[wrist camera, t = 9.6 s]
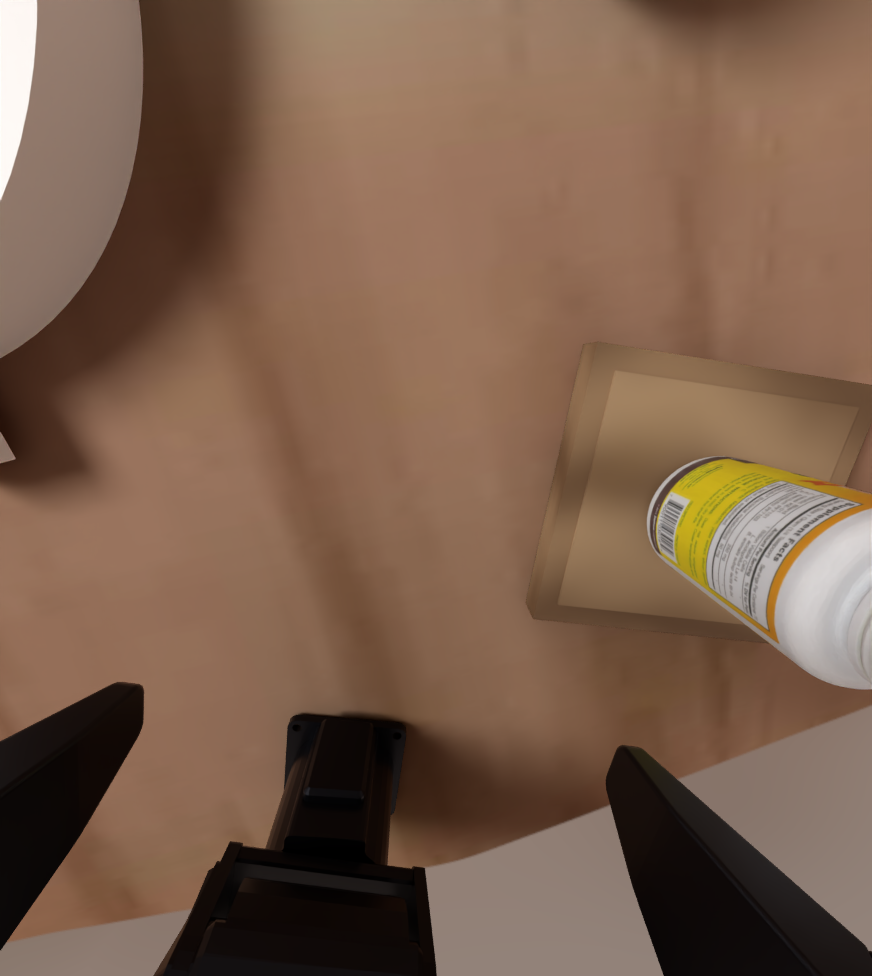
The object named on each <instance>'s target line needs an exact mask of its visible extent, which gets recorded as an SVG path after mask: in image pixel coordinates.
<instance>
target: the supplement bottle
mask: <svg viewBox="0 0 872 976" xmlns="http://www.w3.org/2000/svg"><path fill="white" fill-rule="evenodd" d="M647 532H648V537H649V540H650V543H651V545H652V547H653V549H654V550H655V552H656V553H657V555H658V556H659V557H660V558H661V559H662V560H663V561H664V562H665V563H666V564H668V565H669V566H670V567H671V568H672V569H674V570H675V571H676V572H678V573H679V574H680V575H681V576H683V577H684V578H685V579H687V580H688V581H689V582H691V583H692V584H693V585H694V586H696V587H697V588H698V589H700V590H701V591H702V592H703V593H705V594H706V595H707V596H709V597H710V598H711V599H712V600H714V601H715V602H716V603H718V604H719V605H720V606H722V607H723V608H724V609H726V610H727V611H728V612H730V613H731V614H732V615H733V616H735V617H736V618H737V619H739V620H740V621H741V622H742V623H744V624H745V625H746V626H748V627H749V628H750V629H751V630H753V631H754V632H755V633H757V634H758V635H759V636H761V637H762V638H763V639H764V640H766V641H767V642H768V643H769V644H771V645H772V646H773V647H775V648H776V649H777V650H778V651H780V652H781V653H782V654H784V655H785V656H786V657H787V658H789V659H790V660H791V661H793V662H794V663H795V664H797V665H798V666H799V667H801V668H802V669H804V670H805V671H807V672H808V673H810V674H811V675H813V676H814V677H816V678H818V679H820V680H823V681H825V682H827V683H830V684H833V685H837V686H841V687H846V688H853V689H872V493H868V492H864V491H861V490H857V489H853V488H849V487H845V486H842V485H838V484H833V483H830V482H826V481H822V480H818V479H815V478H811V477H807V476H804V475H800V474H796V473H791V472H788V471H784V470H781V469H777V468H773V467H769V466H765V465H761V464H758V463H754V462H751V461H746V460H742V459H738V458H733V457H726V456H713V457H706V458H702V459H698V460H695V461H693V462H690V463H688V464H686V465H684V466H682V467H681V468H679V469H678V470H676V471H675V472H674V473H672V474H671V475H670V476H669V477H668V478H667V479H666V480H665V481H664V482H663V483H662V484H661V486H660V487H659V488H658V490H657V491H656V493H655V495H654V496H653V498H652V501H651V503H650V506H649V510H648V515H647Z"/></svg>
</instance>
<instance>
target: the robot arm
mask: <svg viewBox="0 0 872 976" xmlns="http://www.w3.org/2000/svg"><path fill="white" fill-rule="evenodd" d="M143 717H144V689H143V687H142V685H140V684H135V683H127V682H116V683H114V684H111V685H109V686H107V687H105V688H103V689H102V690H100V691H98V692H96V693H94V694H92V695H90V696H88V697H86V698H84V699H82V700H80V701H78V702H76V703H74V704H72V705H70V706H68V707H66V708H64V709H62V710H61V711H59V712H57V713H55V714H53V715H51V716H49V717H47V718H45V719H43V720H41V721H39V722H37V723H35V724H33V725H31V726H29V727H27V728H25V729H23V730H21V731H20V732H18V733H16V734H14V735H12V736H10V737H8V738H6V739H4V740H2V741H0V950H1V949H2V948H3V946H4V945H5V943H6V942H7V940H8V939H9V938H10V936H11V935H12V933H13V932H14V930H15V929H16V927H17V926H18V925H19V923H20V922H21V920H22V919H23V917H24V916H25V915H26V913H27V912H28V910H29V909H30V907H31V906H32V905H33V903H34V902H35V900H36V899H37V897H38V896H39V894H40V893H41V892H42V890H43V889H44V887H45V886H46V884H47V883H48V882H49V880H50V879H51V877H52V876H53V874H54V873H55V872H56V870H57V869H58V867H59V866H60V864H61V863H62V861H63V860H64V859H65V857H66V856H67V854H68V853H69V851H70V850H71V848H72V847H73V845H74V844H75V842H76V841H77V839H78V838H79V836H80V835H81V833H82V832H83V830H84V828H85V827H86V825H87V823H88V822H89V820H90V819H91V817H92V815H93V813H94V812H95V810H96V808H97V807H98V805H99V803H100V801H101V800H102V798H103V796H104V794H105V793H106V791H107V789H108V788H109V786H110V784H111V782H112V781H113V779H114V777H115V776H116V774H117V772H118V770H119V769H120V767H121V765H122V764H123V762H124V760H125V758H126V757H127V755H128V753H129V752H130V750H131V748H132V746H133V745H134V743H135V741H136V740H137V738H138V736H139V734H140V732H141V729H142V725H143ZM296 724H298V725H300V726H298V725H296ZM396 732H398V734H396ZM405 739H406V727H405V726H404V725H403V724H401V723H394V722H382V721H369V720H357V719H345V718H333V717H320V716H308V715H295V716H293V717H292V718H291V719H290V722H289V725H288V730H287V748H286V765H285V783H284V792H283V795H282V798H281V801H280V805H279V808H278V811H277V814H276V817H275V820H274V823H273V826H272V829H271V832H270V836H269V839H268V842H267V845H266V848H265V849H263V848H256V847H249V846H243V843H239V842H232V841H230V843H229V845H228V847H227V849H226V851H225V853H224V855H223V858H222V860H221V862H220V861H217V862H216V864H215V866H214V868H212V869H210V870H209V871H208V873H207V876H206V878H205V880H204V883H203V885H202V887H201V890H200V892H199V895H198V897H197V899H196V902H195V904H194V906H193V908H192V911H191V913H190V915H189V917H188V919H187V921H186V923H185V924H184V926H183V928H182V930H181V931H180V933H179V934H178V936H177V938H176V939H175V941H174V943H173V944H172V946H171V948H170V949H169V951H168V953H167V954H166V956H165V958H164V959H163V961H162V962H161V964H160V966H159V968H158V969H157V971H156V972H155V974H154V976H437V975H436V962H435V953H434V945H433V936H432V927H431V918H430V909H429V901H428V892H427V883H426V875H425V868H422V867H415V866H413V867H412V869H410V868H403V867H395V866H388V865H387V863H388V848H389V832H390V817H391V815H392V814H393V813H394V811H395V805H396V799H397V792H398V786H399V779H400V772H401V766H402V759H403V753H404V746H405ZM606 790H607V794H608V798H609V802H610V805H611V809H612V813H613V816H614V820H615V824H616V828H617V831H618V835H619V839H620V843H621V846H622V850H623V854H624V858H625V861H626V865H627V868H628V872H629V876H630V879H631V883H632V886H633V889H634V892H635V895H636V898H637V901H638V904H639V907H640V910H641V912H642V915H643V918H644V921H645V924H646V926H647V929H648V932H649V935H650V938H651V941H652V944H653V946H654V949H655V952H656V955H657V958H658V961H659V963H660V966H661V969H662V972H663V975H664V976H872V951H868V950H867V947H866V946H865V945H864V944H863V943H862V942H861V941H860V940H859V939H857V938H856V937H855V936H854V935H853V934H851V932H850V931H848V930H847V929H846V928H845V927H844V926H843V925H842V924H841V923H839V922H838V921H837V920H836V919H835V918H834V917H833V916H831V915H830V914H829V913H828V912H827V911H826V910H825V909H824V908H822V907H821V906H820V905H819V904H818V903H816V902H815V901H814V900H813V899H812V898H811V897H810V896H808V894H806V893H805V892H804V891H803V890H802V889H801V888H800V887H799V886H797V885H796V884H795V883H794V882H793V881H792V880H791V879H789V878H788V877H787V876H786V875H785V874H784V873H783V872H782V871H780V870H779V869H778V868H777V867H776V866H775V865H774V864H772V863H771V862H770V861H769V860H768V859H767V858H766V857H765V856H763V855H762V854H761V853H760V852H759V851H758V850H757V849H755V848H754V847H753V846H752V845H751V844H750V843H749V842H747V841H746V840H745V839H744V838H743V837H742V836H741V835H739V834H738V833H737V832H736V831H735V830H734V829H733V828H732V827H730V826H729V825H728V824H727V823H726V822H725V821H724V820H723V819H721V818H720V817H719V816H718V815H717V814H716V813H715V812H713V811H712V810H711V809H710V808H709V807H708V806H707V805H705V804H704V803H703V802H702V801H701V800H700V799H699V798H698V797H696V796H695V795H694V794H693V793H692V792H691V791H690V790H688V789H687V788H686V787H685V786H684V785H683V784H682V783H681V782H679V781H678V780H677V779H676V778H675V777H674V776H673V775H672V774H670V773H669V772H668V771H667V770H666V769H665V768H664V767H662V766H661V765H660V764H659V763H658V762H657V761H656V760H654V759H653V758H652V757H651V756H650V755H649V754H648V753H647V752H645V751H644V750H643V749H641V748H639V747H634V746H626V745H621V746H619V747H618V748H617V750H616V752H615V755H614V757H613V760H612V762H611V765H610V768H609V770H608V773H607V776H606Z"/></svg>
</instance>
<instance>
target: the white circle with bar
mask: <svg viewBox="0 0 872 976" xmlns="http://www.w3.org/2000/svg"><path fill="white" fill-rule="evenodd" d="M142 95H143V45H142V26H141V15H140V6H139V0H0V358H2V357H3V356H5V355H7V354H8V353H10V352H12V351H13V350H15V349H17V348H18V347H20V346H21V345H23V344H24V343H25V342H27V341H28V340H29V339H31V338H32V337H34V336H35V335H36V334H37V333H39V332H40V331H41V330H42V329H43V328H44V327H45V326H47V325H48V324H49V323H50V322H51V321H52V320H53V319H54V318H55V317H56V316H57V315H58V314H59V313H60V312H61V311H62V310H63V309H64V308H65V307H66V306H67V305H68V303H69V302H70V301H71V300H72V298H73V297H74V296H75V295H76V293H77V292H78V291H79V290H80V288H81V287H82V286H83V284H84V283H85V281H86V280H87V278H88V277H89V275H90V274H91V272H92V271H93V269H94V268H95V266H96V264H97V262H98V260H99V259H100V257H101V255H102V253H103V251H104V249H105V248H106V246H107V243H108V241H109V239H110V237H111V234H112V232H113V230H114V228H115V226H116V223H117V220H118V217H119V215H120V212H121V209H122V206H123V203H124V201H125V197H126V193H127V190H128V186H129V183H130V179H131V175H132V171H133V166H134V161H135V156H136V151H137V145H138V137H139V130H140V122H141V110H142ZM14 459H16V458H15V456H14V455H13V453H12V451H11V449H10V448H9V446H8V444H7V442H6V441H5V439H4V437H3V435H2V434H1V432H0V463H4V462H7V461H11V460H14Z"/></svg>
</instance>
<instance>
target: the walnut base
mask: <svg viewBox="0 0 872 976" xmlns="http://www.w3.org/2000/svg"><path fill="white" fill-rule="evenodd" d="M871 423H872V385H869V384H862V383H856V382H850V381H843V380H837V379H830V378H824V377H818V376H811V375H805V374H799V373H792V372H786V371H780V370H773V369H767V368H761V367H754V366H748V365H742V364H735V363H729V362H723V361H716V360H710V359H703V358H697V357H691V356H684V355H678V354H672V353H665V352H659V351H653V350H646V349H640V348H634V347H627V346H621V345H615V344H608V343H602V342H594V343H588V344H583V349H582V353H581V358H580V362H579V367H578V371H577V376H576V380H575V385H574V389H573V394H572V398H571V402H570V407H569V411H568V416H567V420H566V425H565V429H564V434H563V438H562V443H561V447H560V452H559V456H558V460H557V465H556V469H555V474H554V478H553V483H552V487H551V492H550V496H549V501H548V505H547V510H546V514H545V518H544V523H543V527H542V532H541V536H540V541H539V545H538V550H537V554H536V559H535V563H534V568H533V572H532V576H531V581H530V585H529V590H528V594H527V599H526V604H527V607H528V609H529V611H530V613H531V615H532V618H533V619H537V620H547V621H557V622H566V623H576V624H586V625H595V626H605V627H615V628H624V629H634V630H644V631H653V632H663V633H673V634H682V635H692V636H702V637H711V638H721V639H731V640H740V641H750V642H760V643H768V642H767V641H766V640H764V639H763V638H762V637H761V636H759V635H758V634H757V633H755V632H754V631H753V630H751V629H750V628H749V627H748V626H746V625H745V624H744V623H742V622H741V621H740V620H739V619H737V618H736V617H735V616H733V615H732V614H731V613H730V612H728V611H727V610H726V609H724V608H723V607H722V606H720V605H719V604H718V603H716V602H715V601H714V600H712V599H711V598H710V597H709V596H707V595H706V594H705V593H703V592H702V591H701V590H700V589H698V588H697V587H696V586H694V585H693V584H692V583H691V582H689V581H688V580H687V579H685V578H684V577H683V576H681V575H680V574H679V573H678V572H676V571H675V570H674V569H672V568H671V567H670V566H669V565H668V564H666V563H665V562H664V561H663V560H662V559H661V558H660V557H659V556H658V555H657V553H656V552H655V550H654V549H653V547H652V545H651V543H650V540H649V537H648V532H647V515H648V510H649V506H650V503H651V501H652V498H653V496H654V495H655V493H656V491H657V490H658V488H659V487H660V486H661V484H662V483H663V482H664V481H665V480H666V479H667V478H668V477H669V476H670V475H671V474H672V473H674V472H675V471H676V470H678V469H679V468H681V467H682V466H684V465H686V464H688V463H690V462H693V461H695V460H698V459H702V458H706V457H713V456H726V457H733V458H738V459H742V460H746V461H751V462H754V463H758V464H761V465H765V466H769V467H773V468H777V469H781V470H784V471H788V472H791V473H796V474H800V475H804V476H807V477H811V478H815V479H818V480H822V481H826V482H830V483H833V484H838V485H842V486H845V485H846V483H847V480H848V478H849V475H850V473H851V471H852V468H853V466H854V463H855V461H856V459H857V456H858V454H859V452H860V449H861V447H862V444H863V442H864V440H865V437H866V435H867V433H868V430H869V428H870V425H871Z"/></svg>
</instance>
